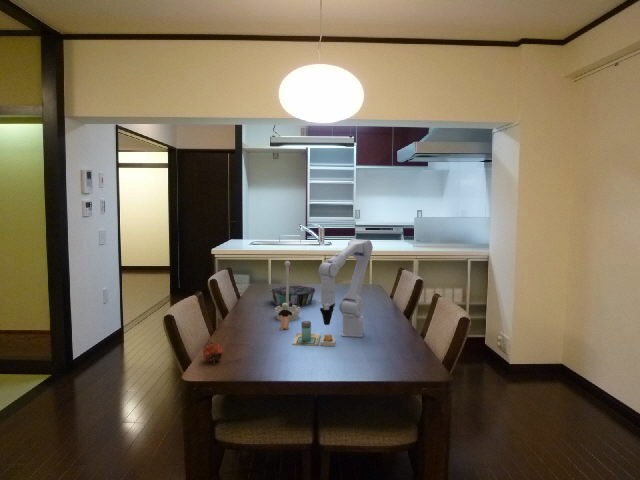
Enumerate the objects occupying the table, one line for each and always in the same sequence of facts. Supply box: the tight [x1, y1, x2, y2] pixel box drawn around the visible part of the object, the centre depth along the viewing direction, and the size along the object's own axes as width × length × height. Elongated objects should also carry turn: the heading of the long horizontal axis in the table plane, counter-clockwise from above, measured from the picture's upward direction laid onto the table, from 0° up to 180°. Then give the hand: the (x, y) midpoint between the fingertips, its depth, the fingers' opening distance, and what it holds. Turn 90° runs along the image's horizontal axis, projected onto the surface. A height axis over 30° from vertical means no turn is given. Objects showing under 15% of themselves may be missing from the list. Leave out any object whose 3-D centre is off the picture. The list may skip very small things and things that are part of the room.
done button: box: [323, 333, 333, 342], centre depth 185 cm, size 3×3×2 cm
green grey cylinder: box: [300, 320, 312, 342], centre depth 186 cm, size 4×4×8 cm
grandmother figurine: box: [276, 303, 294, 331], centre depth 205 cm, size 8×4×13 cm, turn 105°
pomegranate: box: [202, 341, 224, 366], centre depth 163 cm, size 7×7×10 cm
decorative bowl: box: [269, 285, 316, 307], centre depth 256 cm, size 26×28×10 cm
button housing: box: [319, 336, 336, 347], centre depth 185 cm, size 6×6×2 cm
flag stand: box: [274, 260, 301, 322], centre depth 223 cm, size 13×13×30 cm
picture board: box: [291, 332, 322, 347], centre depth 189 cm, size 11×14×1 cm
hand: (327, 322), depth 184 cm, fingers open, 7 cm apart
